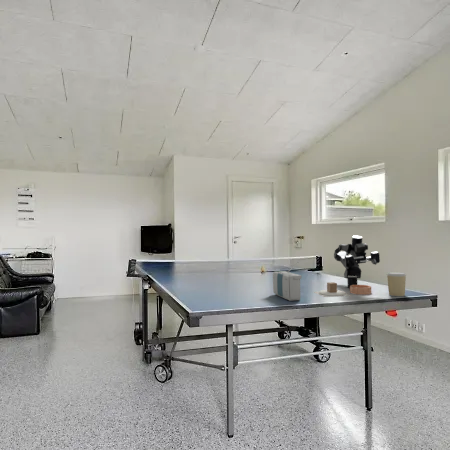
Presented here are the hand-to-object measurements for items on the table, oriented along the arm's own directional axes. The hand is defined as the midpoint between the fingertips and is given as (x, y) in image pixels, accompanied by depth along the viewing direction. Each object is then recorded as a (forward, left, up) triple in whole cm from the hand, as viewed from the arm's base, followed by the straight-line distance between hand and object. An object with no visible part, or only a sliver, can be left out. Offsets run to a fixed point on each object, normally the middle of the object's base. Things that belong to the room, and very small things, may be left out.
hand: (367, 264), depth 189 cm
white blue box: (-5, -44, -17) cm, 47 cm away
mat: (-8, -17, -17) cm, 25 cm away
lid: (-8, -17, -16) cm, 25 cm away
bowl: (-8, 0, -17) cm, 19 cm away
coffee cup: (+1, +16, -17) cm, 24 cm away
